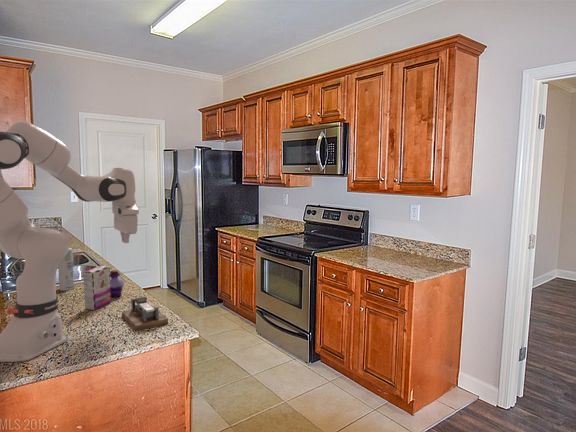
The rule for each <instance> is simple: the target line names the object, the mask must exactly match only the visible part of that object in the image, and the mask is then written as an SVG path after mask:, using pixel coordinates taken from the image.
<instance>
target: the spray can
mask: <svg viewBox="0 0 576 432" xmlns="http://www.w3.org/2000/svg"><path fill="white" fill-rule="evenodd" d="M73 252H74V250H73V248H72V247H69V251H68V253H67V254H66V256H65V257H64V258H62V259H61V261H60V263H59V265H58V268H57V271H58V283H59V284H58V285H59V291H61V292H62V291H63V292H64V291H72V290H73V289H75V281H74V279H75V277H74V258H73V257H74V255H73V254H74V253H73Z"/></svg>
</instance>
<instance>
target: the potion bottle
mask: <svg viewBox="0 0 576 432" xmlns="http://www.w3.org/2000/svg"><path fill="white" fill-rule="evenodd" d="M120 275H121V273H120V272H119V270H110V284H111V299H112V298H120V297H121V296H122V293H123V287H124V285H125V280H124V279H122V278H119V277H120Z"/></svg>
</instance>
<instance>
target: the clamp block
mask: <svg viewBox="0 0 576 432" xmlns="http://www.w3.org/2000/svg"><path fill="white" fill-rule="evenodd" d="M142 297H143V298H144V299H145V300H146V301H147V299H148V298H147V297H146V296H142ZM147 302H148V301H147ZM153 307H154V311H151V312H147V313H146V310H145V309H142V308H141V307H140V306H139V305H138V304H136V302H135V298H131V299H130V308H131V309H130V310H131V311H132V312H135V313H137V314H138V315H139V316H140V317H141V318H142V322H144V323H145V322H146V320H150V319H155V320H159V312H160V311H159V306H153Z"/></svg>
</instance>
